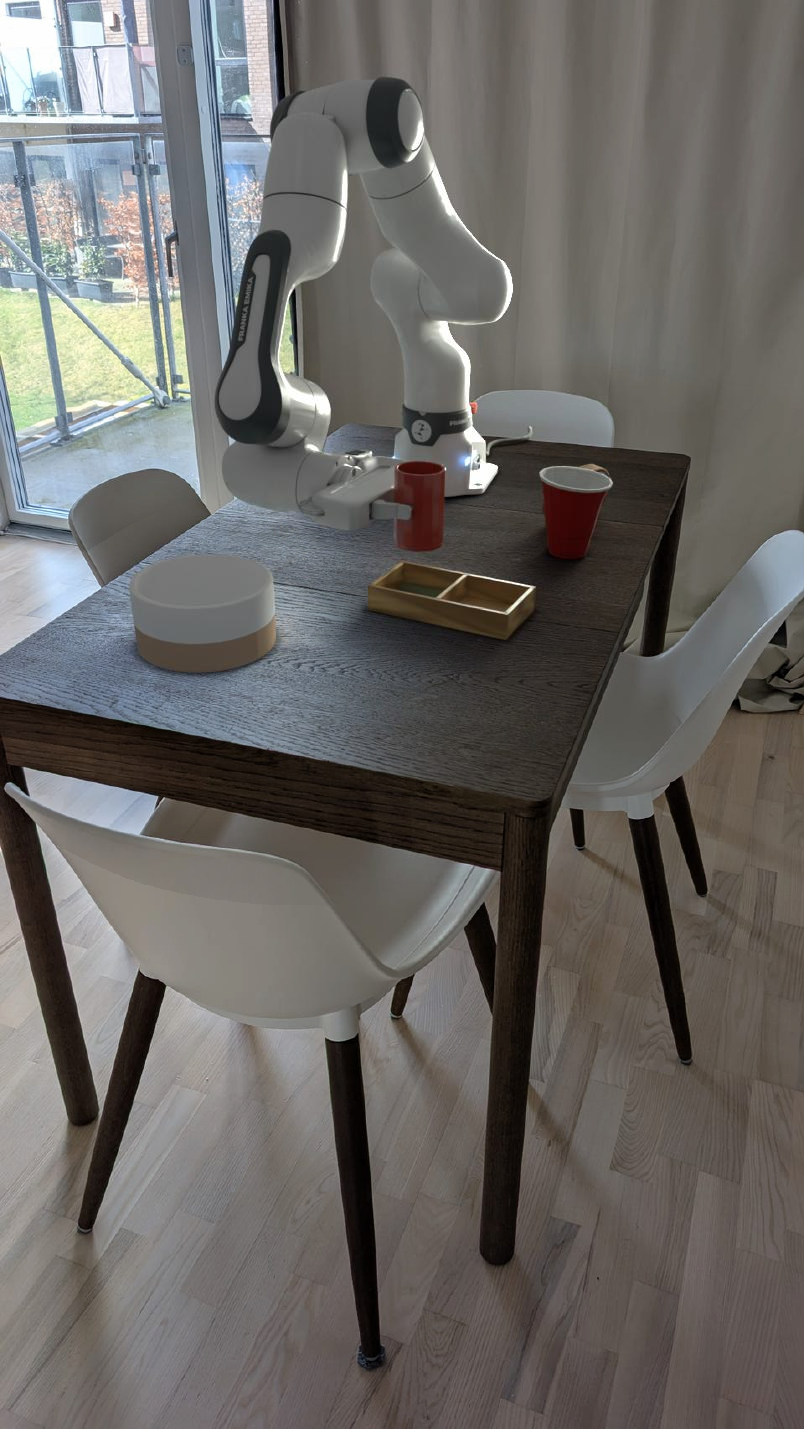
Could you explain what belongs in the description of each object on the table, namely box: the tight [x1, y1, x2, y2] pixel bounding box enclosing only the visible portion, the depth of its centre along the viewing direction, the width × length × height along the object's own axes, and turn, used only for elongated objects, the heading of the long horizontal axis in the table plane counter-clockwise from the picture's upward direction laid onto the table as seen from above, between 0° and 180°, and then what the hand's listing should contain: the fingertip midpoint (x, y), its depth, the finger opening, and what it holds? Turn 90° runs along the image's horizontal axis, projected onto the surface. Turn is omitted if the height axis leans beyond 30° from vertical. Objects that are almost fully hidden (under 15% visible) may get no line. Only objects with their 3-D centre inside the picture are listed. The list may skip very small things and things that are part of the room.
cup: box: [393, 461, 446, 553], centre depth 133 cm, size 6×6×10 cm
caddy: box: [367, 560, 537, 641], centre depth 137 cm, size 10×20×4 cm, turn 63°
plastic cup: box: [538, 465, 614, 560], centre depth 154 cm, size 11×11×12 cm
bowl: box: [128, 553, 277, 674], centre depth 127 cm, size 17×17×8 cm
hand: (425, 503), depth 133 cm, fingers closed on cup, 6 cm apart
